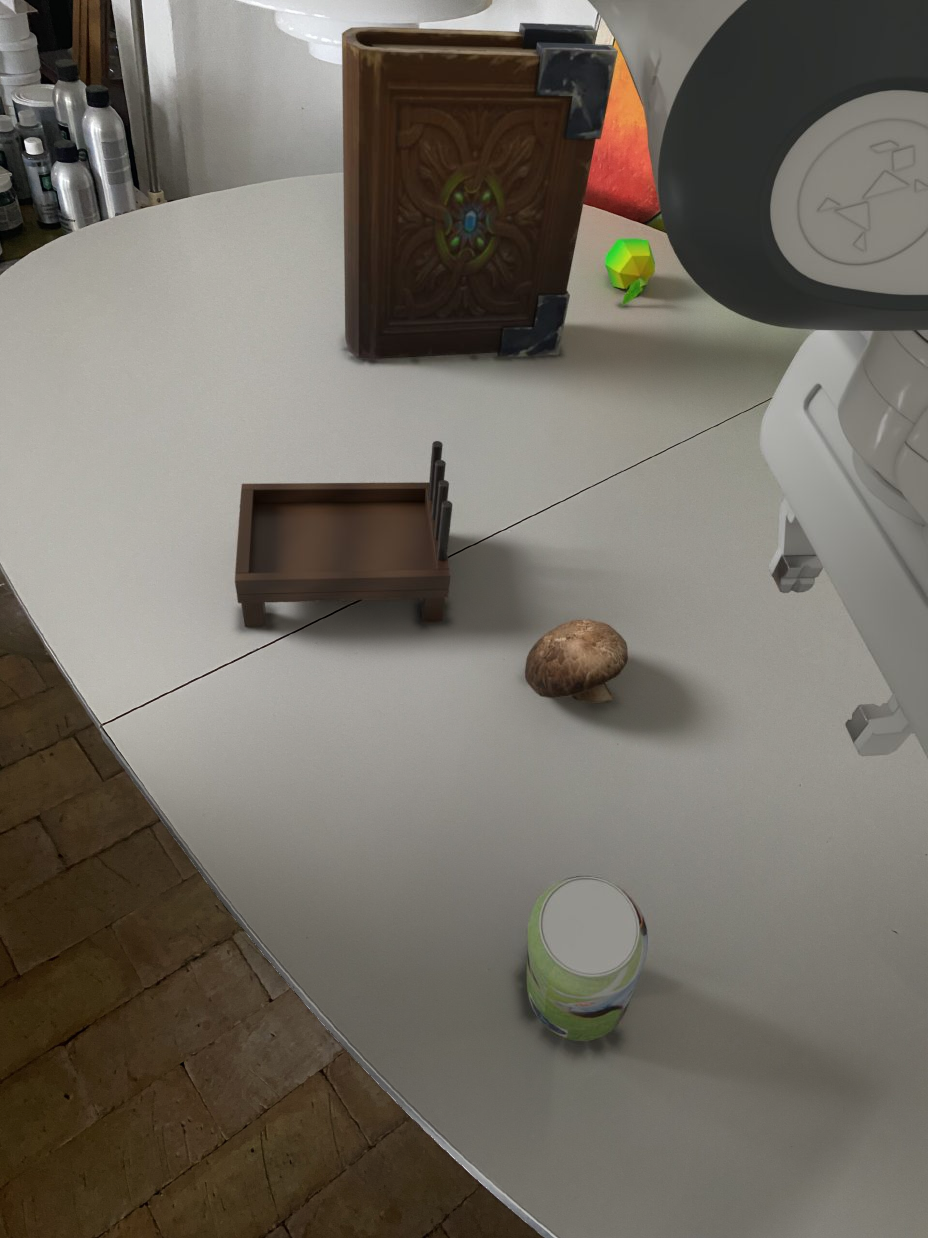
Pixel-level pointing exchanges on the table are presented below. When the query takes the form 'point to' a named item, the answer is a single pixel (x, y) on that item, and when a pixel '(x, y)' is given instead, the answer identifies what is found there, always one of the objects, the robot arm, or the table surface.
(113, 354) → the table surface
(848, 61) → the robot arm
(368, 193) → the decorative book
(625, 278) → the apple
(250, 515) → the tray
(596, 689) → the mushroom
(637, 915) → the beverage can
